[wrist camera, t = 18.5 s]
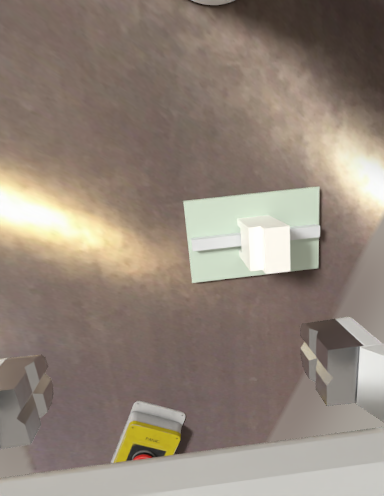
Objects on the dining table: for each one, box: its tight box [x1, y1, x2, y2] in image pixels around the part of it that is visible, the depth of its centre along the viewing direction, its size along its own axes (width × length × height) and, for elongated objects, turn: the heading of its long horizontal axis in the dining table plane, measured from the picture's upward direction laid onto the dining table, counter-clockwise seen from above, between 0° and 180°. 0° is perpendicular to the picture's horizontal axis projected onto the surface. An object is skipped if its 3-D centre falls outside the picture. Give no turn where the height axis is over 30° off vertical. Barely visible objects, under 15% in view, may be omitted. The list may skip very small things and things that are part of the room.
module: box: [237, 215, 290, 274], centre depth 39 cm, size 5×6×8 cm
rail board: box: [183, 187, 320, 283], centre depth 43 cm, size 19×12×2 cm, turn 96°
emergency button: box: [111, 401, 185, 463], centre depth 51 cm, size 9×4×15 cm
